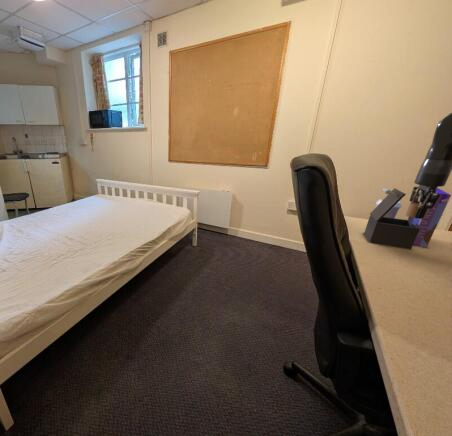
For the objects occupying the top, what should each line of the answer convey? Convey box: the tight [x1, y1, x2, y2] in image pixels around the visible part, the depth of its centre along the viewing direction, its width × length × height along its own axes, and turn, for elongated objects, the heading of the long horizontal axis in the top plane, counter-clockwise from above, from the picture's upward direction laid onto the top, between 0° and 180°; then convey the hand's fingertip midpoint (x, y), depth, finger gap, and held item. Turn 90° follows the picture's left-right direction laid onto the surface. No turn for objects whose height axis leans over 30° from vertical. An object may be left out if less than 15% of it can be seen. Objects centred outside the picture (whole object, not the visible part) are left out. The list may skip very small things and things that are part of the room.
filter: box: [404, 202, 429, 219], centre depth 85 cm, size 5×5×5 cm
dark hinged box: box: [363, 214, 420, 250], centre depth 101 cm, size 14×12×10 cm
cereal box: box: [407, 187, 452, 249], centre depth 100 cm, size 17×5×24 cm, turn 143°
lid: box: [369, 187, 407, 222], centre depth 99 cm, size 14×12×5 cm
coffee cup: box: [375, 198, 403, 218], centre depth 114 cm, size 10×10×15 cm
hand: (415, 215), depth 86 cm, fingers closed on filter, 5 cm apart
